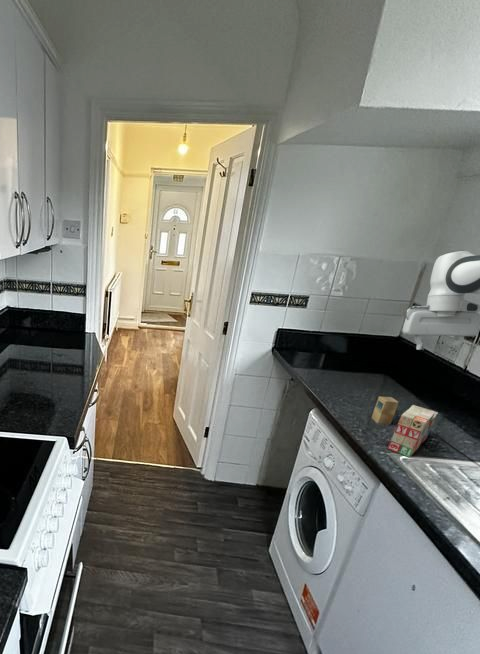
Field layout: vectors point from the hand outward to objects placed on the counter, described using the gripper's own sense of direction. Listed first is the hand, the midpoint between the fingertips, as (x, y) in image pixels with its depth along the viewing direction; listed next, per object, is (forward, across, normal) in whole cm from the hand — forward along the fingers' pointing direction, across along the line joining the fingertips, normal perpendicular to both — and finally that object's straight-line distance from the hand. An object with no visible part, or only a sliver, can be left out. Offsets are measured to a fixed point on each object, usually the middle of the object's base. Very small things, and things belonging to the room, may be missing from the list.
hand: (436, 350), depth 132 cm
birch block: (+27, -8, +10) cm, 30 cm away
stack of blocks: (+30, -6, -5) cm, 31 cm away
